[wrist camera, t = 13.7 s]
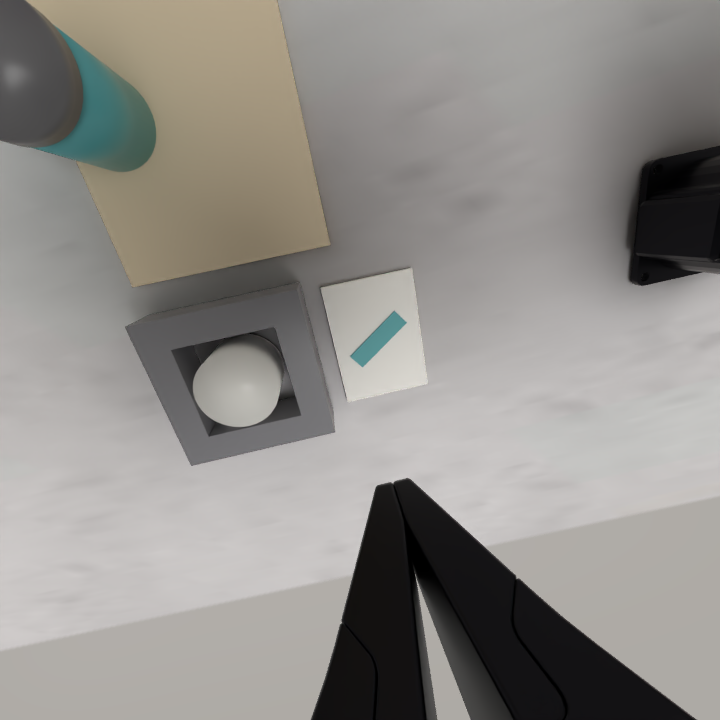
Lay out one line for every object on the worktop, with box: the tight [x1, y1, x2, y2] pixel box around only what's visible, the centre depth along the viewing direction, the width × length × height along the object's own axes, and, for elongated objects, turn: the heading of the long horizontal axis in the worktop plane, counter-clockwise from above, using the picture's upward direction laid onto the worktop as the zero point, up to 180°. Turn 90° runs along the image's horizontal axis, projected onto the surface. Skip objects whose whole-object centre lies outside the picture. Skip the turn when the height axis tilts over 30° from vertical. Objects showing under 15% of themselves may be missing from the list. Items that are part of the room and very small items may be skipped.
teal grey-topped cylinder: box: [0, 0, 156, 172], centre depth 12 cm, size 4×4×6 cm
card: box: [320, 268, 428, 402], centre depth 19 cm, size 5×7×1 cm
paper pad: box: [26, 0, 330, 287], centre depth 14 cm, size 10×14×1 cm
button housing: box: [125, 282, 335, 466], centre depth 18 cm, size 8×8×2 cm
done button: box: [193, 334, 285, 427], centre depth 18 cm, size 4×4×3 cm
